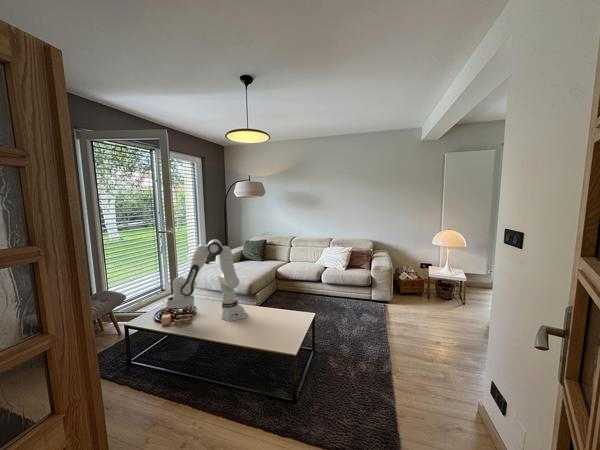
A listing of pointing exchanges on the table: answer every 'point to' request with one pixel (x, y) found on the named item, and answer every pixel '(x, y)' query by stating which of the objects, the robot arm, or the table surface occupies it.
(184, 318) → the chute
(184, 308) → the candy bar box
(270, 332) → the table surface
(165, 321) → the block
